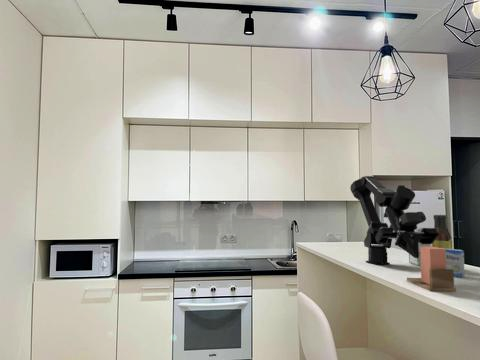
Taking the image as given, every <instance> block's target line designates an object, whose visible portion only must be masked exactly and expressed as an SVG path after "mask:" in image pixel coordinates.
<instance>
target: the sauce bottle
mask: <svg viewBox="0 0 480 360" xmlns="http://www.w3.org/2000/svg"><path fill="white" fill-rule="evenodd" d="M447 218H448V217H447V215H446V214H433V221H434V224H433V225H434V227H433V228H436V230H437V231H438V233H439V235H438V236H437V238H436V239H435V241H434V242H433V243H432V244H431V247H438V248H446V249H453V245H452V244H453V243H452V236H451V233H450V232H449V229H448V227H447Z"/></svg>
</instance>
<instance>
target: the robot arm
mask: <svg viewBox="0 0 480 360" xmlns="http://www.w3.org/2000/svg"><path fill="white" fill-rule="evenodd" d="M350 192H351V194H352V195H353V197H354V198H355V199H356V200H357V201H359V203H360V207H361V209H362V212H363V214H364V218H365V220H366V222H367V225H368V229H367V231H366V235H365V236H366V237H364V240H363V244H364V245H363V247H365V248H367V251H368V256H367V257H368V258H367V259H368V260H365V263H369V264H372V265H377V266H378V265H379V266H380V265H381V266H382V265H383V266H384V265H390V262H388V251H387V249H392V248H391V247H392V242H393V239H394V240H395V242H394V246H397V247H399V248H400V249H402V250H403V251H405V252H406V253H408V255H409V254H410V255H412V256H413V257H414V258H418V257H419V247H418V243H421V244H431V245H432V243H433V242H434V241H435V239H436V238H437V236H438V235H439V233H438V231H437V230H436V228H434V227H422V228H423V229H422V231H421V232H415V231H414V230H415V229H417V227H418V225H420V224H423V223H424V222H425V221H427V217H426V215H425V213H424V211H417V212H416V211H413V212H411V211H408V212H405V211H406V210H408V209H410V206H411V204H412V203H413V200H414V199H415V197H416V193H415V191H413V190H412V189H410V188H408V187H405V185H401V184H400V185H398V186H397V187H396V190H393V189H389V188H386V187H385V185H383V184H382V183H381V182H380V181H379V180H377V178H376V177H375V176H373V175H364V176H362V177H361V178H358V179H356V180H354V181H353V182H352V183H351V184H350ZM371 194H373V195H374V197H375V199H374V200H375V202H376V204H377V205H378V207H381V208H385V209H384V214H383V218H387V219H388V221H389V223H390V224H389V225H388V223H387V222H381V219H380V217H379V215H378V212H377V209H376V207H375V204H374V202H373V200H372V197H371Z"/></svg>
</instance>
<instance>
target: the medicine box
mask: <svg viewBox="0 0 480 360" xmlns="http://www.w3.org/2000/svg"><path fill="white" fill-rule="evenodd" d="M442 249H445V250H446V269H452V270H453V273H454V277H455V278H464V277H465V275H466V274H465V272H466V271H465V250H463V249H455V248H452V249H446V248H442Z"/></svg>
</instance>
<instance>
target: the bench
mask: <svg viewBox="0 0 480 360" xmlns="http://www.w3.org/2000/svg"><path fill="white" fill-rule="evenodd" d="M429 272H430V285H429V284H426V283H424V282H422V281H421V277H406V281H407V282H409V283H412V284H414V285H416V286H418V287H420V288H422V289H425V290H427V291H429V292H455V293H456V291H457V288H455V280H454V279H455V278H454V273H453V270H452V269H429Z"/></svg>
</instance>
